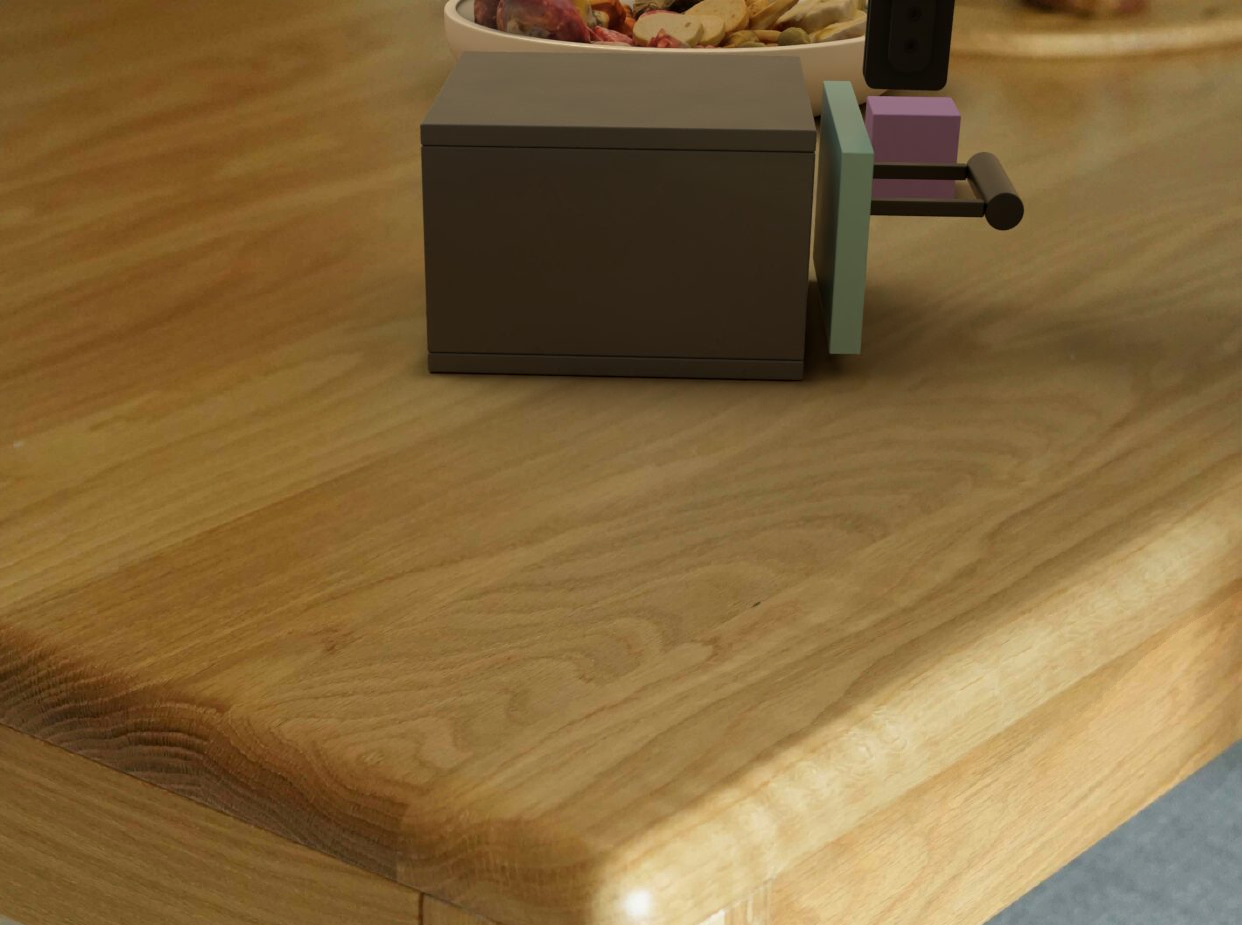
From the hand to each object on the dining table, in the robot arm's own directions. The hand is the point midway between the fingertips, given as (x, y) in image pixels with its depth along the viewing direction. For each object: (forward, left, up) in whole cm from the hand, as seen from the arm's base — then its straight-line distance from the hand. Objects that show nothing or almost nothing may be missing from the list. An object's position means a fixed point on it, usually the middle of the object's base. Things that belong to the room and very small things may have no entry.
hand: (903, 84), depth 79 cm
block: (-3, -23, -10) cm, 25 cm away
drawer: (+5, 0, -9) cm, 10 cm away
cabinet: (+11, 0, -10) cm, 15 cm away
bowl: (+9, -49, -10) cm, 51 cm away
